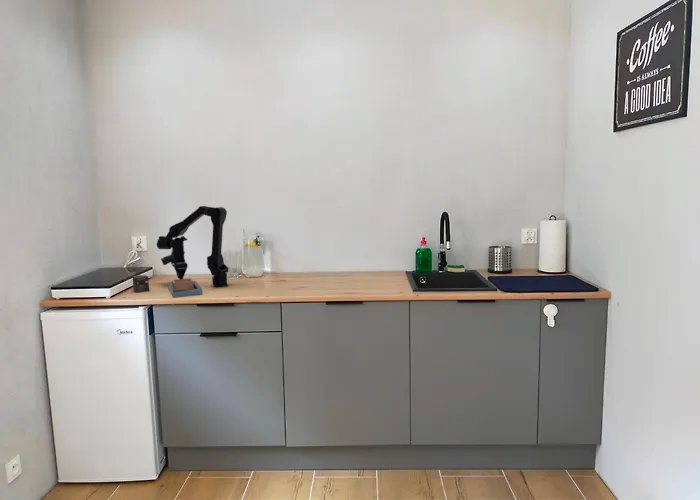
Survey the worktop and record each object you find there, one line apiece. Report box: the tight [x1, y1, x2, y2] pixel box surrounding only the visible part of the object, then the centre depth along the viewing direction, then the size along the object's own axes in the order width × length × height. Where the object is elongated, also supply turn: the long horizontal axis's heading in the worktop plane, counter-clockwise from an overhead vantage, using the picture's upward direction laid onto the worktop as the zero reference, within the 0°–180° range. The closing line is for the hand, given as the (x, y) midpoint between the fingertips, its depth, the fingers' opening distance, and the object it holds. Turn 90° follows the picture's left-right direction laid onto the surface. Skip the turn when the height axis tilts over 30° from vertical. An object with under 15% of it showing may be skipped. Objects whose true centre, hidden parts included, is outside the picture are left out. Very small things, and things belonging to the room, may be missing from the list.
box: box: [132, 274, 150, 293], centre depth 250 cm, size 6×6×7 cm
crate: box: [171, 277, 194, 291], centre depth 254 cm, size 9×8×4 cm
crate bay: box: [167, 280, 203, 298], centre depth 249 cm, size 13×23×2 cm, turn 25°
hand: (179, 279), depth 265 cm, fingers open, 9 cm apart
